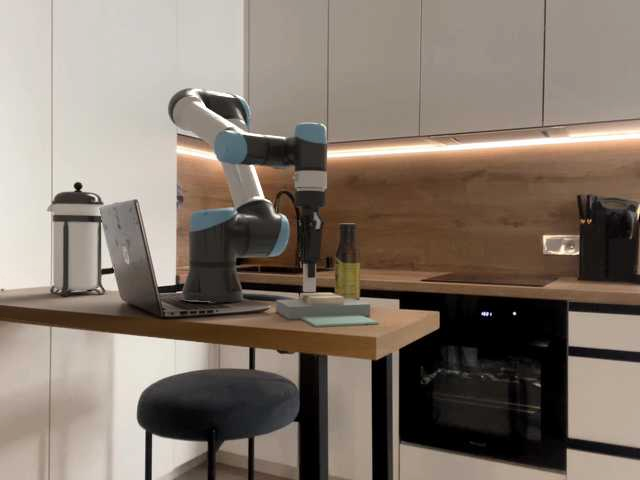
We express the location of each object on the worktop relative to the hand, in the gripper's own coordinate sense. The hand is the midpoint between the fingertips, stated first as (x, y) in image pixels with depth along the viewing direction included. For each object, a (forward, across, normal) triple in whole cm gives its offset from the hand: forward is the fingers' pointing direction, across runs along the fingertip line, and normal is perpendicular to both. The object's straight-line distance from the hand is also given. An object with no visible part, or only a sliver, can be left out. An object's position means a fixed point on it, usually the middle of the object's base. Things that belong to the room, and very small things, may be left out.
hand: (309, 291), depth 137 cm
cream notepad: (+1, +9, 0) cm, 9 cm away
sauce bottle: (+4, -4, +11) cm, 12 cm away
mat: (+4, +20, 0) cm, 21 cm away
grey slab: (+4, +10, 0) cm, 10 cm away
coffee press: (+4, -40, -52) cm, 66 cm away
